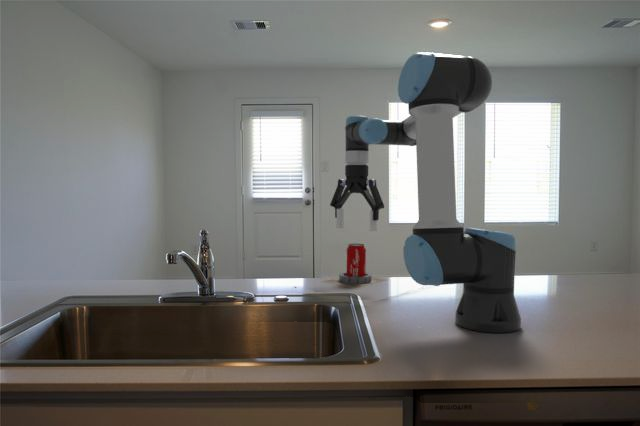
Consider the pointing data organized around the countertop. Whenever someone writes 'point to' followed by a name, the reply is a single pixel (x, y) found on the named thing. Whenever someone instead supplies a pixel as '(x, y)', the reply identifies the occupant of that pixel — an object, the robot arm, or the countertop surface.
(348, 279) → the gray segmented ring
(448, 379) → the countertop surface
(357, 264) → the soda can
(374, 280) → the walnut base board
